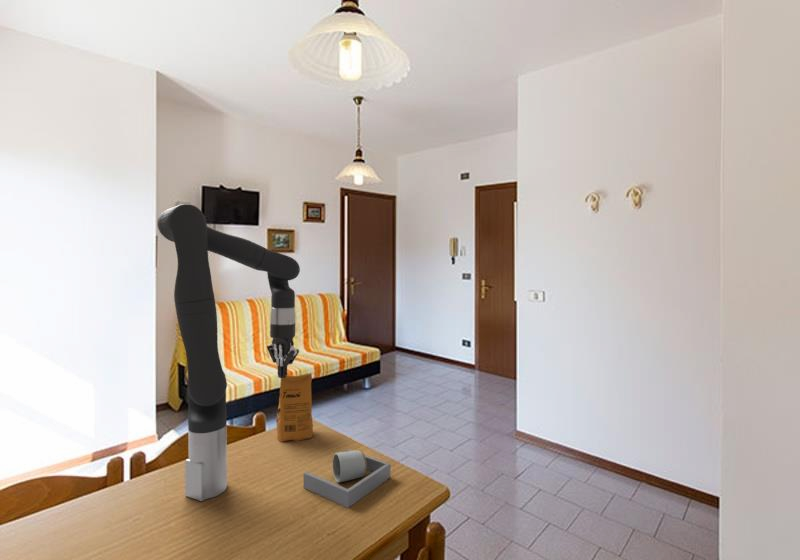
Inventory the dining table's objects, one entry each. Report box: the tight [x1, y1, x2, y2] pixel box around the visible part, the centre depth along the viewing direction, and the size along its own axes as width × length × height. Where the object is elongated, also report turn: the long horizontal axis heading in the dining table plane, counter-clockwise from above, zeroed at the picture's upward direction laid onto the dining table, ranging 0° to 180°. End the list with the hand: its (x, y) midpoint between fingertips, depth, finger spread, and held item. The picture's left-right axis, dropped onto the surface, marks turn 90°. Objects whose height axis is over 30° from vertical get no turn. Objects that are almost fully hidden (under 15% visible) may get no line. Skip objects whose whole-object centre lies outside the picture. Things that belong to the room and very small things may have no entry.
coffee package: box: [276, 372, 314, 443], centre depth 145 cm, size 10×12×22 cm
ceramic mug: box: [332, 450, 367, 483], centre depth 118 cm, size 11×8×8 cm
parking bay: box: [303, 448, 392, 509], centre depth 114 cm, size 18×16×4 cm
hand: (282, 377), depth 128 cm, fingers closed
